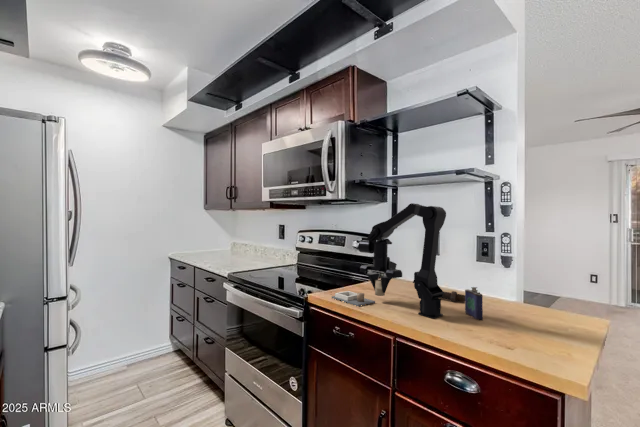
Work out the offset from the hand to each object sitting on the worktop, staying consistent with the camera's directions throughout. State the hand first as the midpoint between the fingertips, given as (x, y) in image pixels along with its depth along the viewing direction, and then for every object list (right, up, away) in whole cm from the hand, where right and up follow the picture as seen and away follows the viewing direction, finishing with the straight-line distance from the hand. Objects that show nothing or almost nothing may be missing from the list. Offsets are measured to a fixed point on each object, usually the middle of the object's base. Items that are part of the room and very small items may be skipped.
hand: (379, 291), depth 130 cm
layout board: (-11, -4, +1) cm, 12 cm away
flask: (+31, -5, -18) cm, 36 cm away
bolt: (+30, -6, +5) cm, 31 cm away
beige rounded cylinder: (0, -1, 0) cm, 1 cm away
